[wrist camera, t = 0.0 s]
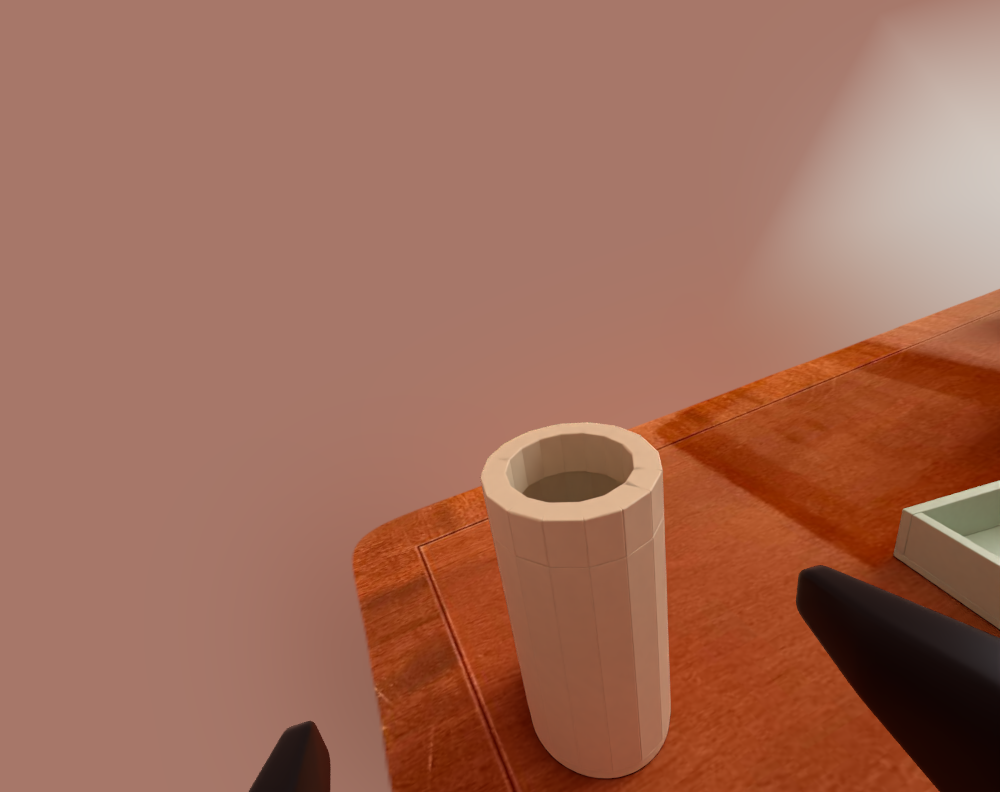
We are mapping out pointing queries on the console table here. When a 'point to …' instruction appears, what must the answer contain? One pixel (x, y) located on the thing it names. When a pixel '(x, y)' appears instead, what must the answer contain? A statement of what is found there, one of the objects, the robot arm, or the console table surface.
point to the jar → (586, 589)
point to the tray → (957, 546)
